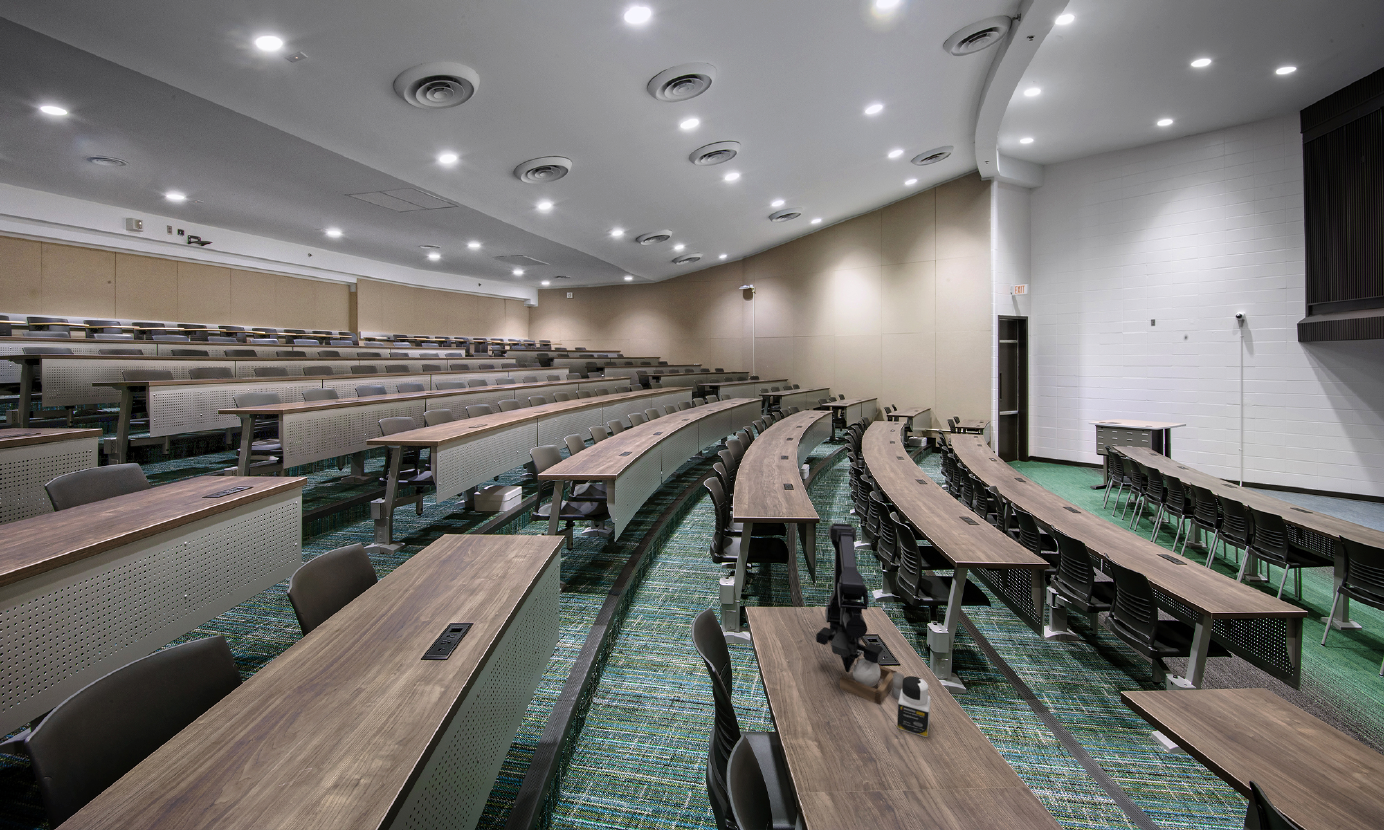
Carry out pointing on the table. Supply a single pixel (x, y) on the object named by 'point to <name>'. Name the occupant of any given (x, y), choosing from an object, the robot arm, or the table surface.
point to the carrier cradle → (872, 694)
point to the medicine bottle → (914, 706)
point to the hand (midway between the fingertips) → (847, 671)
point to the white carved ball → (866, 672)
